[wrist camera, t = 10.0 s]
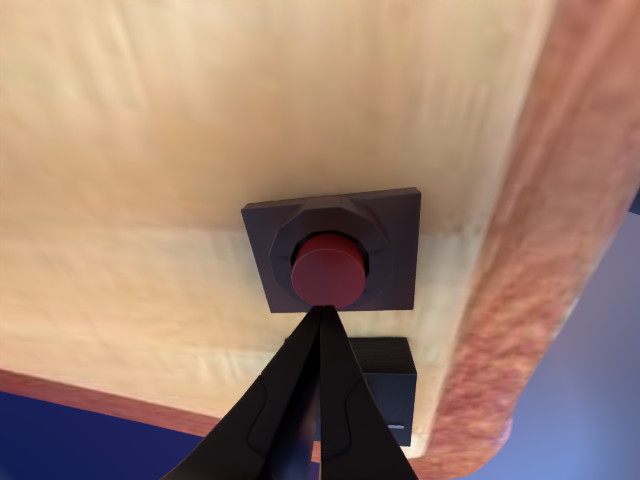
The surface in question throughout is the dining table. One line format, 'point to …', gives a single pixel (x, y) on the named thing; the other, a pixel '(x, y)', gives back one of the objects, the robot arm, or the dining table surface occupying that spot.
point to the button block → (351, 222)
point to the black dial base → (387, 382)
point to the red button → (329, 271)
